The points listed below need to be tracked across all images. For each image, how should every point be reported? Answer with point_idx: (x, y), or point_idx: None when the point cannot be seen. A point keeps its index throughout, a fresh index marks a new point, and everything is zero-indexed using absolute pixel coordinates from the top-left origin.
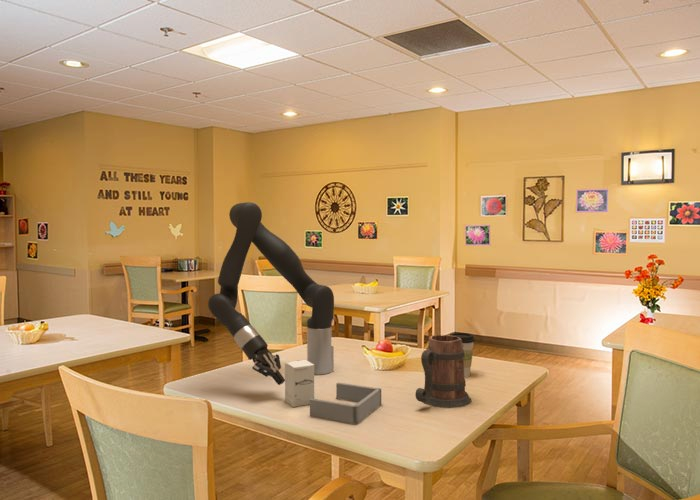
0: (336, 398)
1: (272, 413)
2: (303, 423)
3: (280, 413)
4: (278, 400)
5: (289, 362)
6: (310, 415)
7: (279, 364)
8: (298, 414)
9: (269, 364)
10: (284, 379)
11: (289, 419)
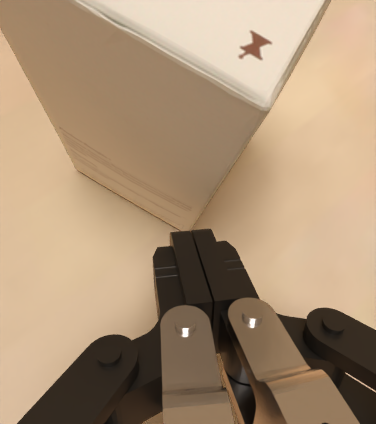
0: None
1: (362, 174)
2: (358, 6)
3: (339, 142)
4: None
5: (247, 32)
6: None
7: (76, 389)
8: (298, 68)
9: (341, 399)
10: (175, 232)
11: (363, 71)
